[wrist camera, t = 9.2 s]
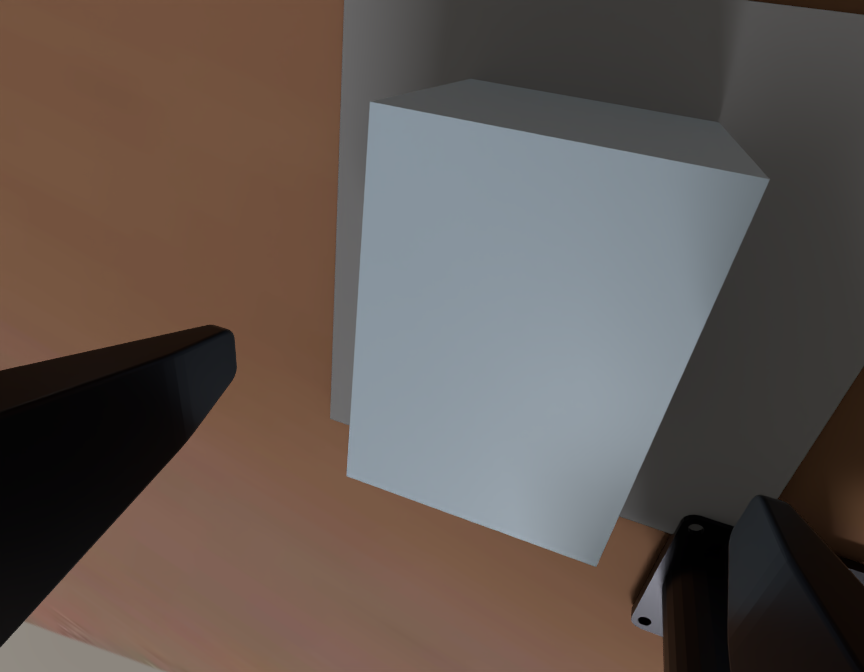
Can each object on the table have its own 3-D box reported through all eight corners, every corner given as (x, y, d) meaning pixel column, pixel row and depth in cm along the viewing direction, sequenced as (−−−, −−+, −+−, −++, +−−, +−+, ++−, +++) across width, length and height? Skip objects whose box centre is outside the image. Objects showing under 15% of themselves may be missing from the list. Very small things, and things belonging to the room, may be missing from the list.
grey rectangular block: (610, 408, 18) (596, 566, 13) (429, 354, 19) (346, 476, 14) (719, 122, 13) (769, 179, 8) (471, 78, 15) (369, 101, 9)
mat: (738, 548, 19) (739, 557, 19) (334, 413, 23) (330, 418, 22) (1061, 41, 11) (1074, 40, 11) (352, -48, 15) (345, -50, 14)
